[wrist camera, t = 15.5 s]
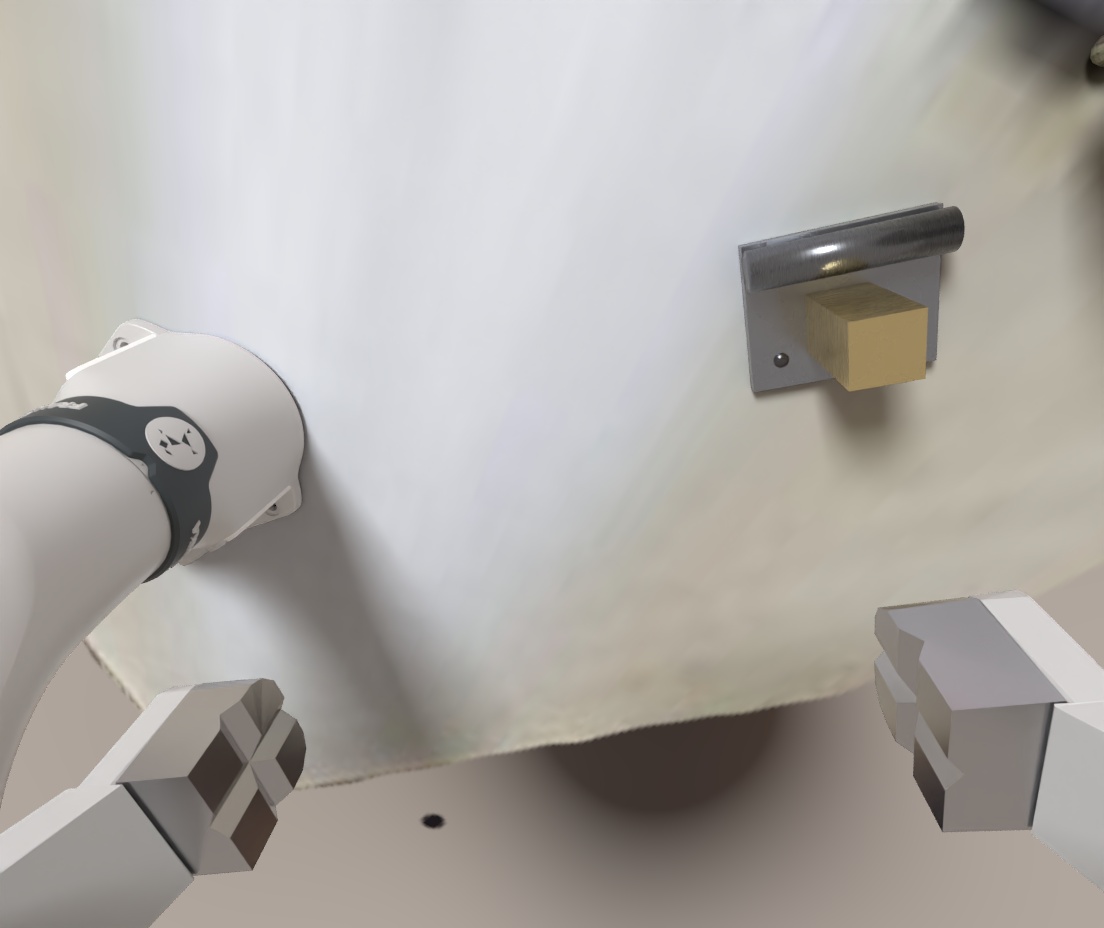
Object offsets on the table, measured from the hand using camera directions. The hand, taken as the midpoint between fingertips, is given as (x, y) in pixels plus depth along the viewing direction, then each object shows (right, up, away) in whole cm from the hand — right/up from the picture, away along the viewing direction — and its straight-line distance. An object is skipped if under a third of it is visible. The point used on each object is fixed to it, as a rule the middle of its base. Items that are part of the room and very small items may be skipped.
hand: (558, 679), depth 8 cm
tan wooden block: (+19, +13, +32) cm, 39 cm away
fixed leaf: (+19, +14, +32) cm, 40 cm away
